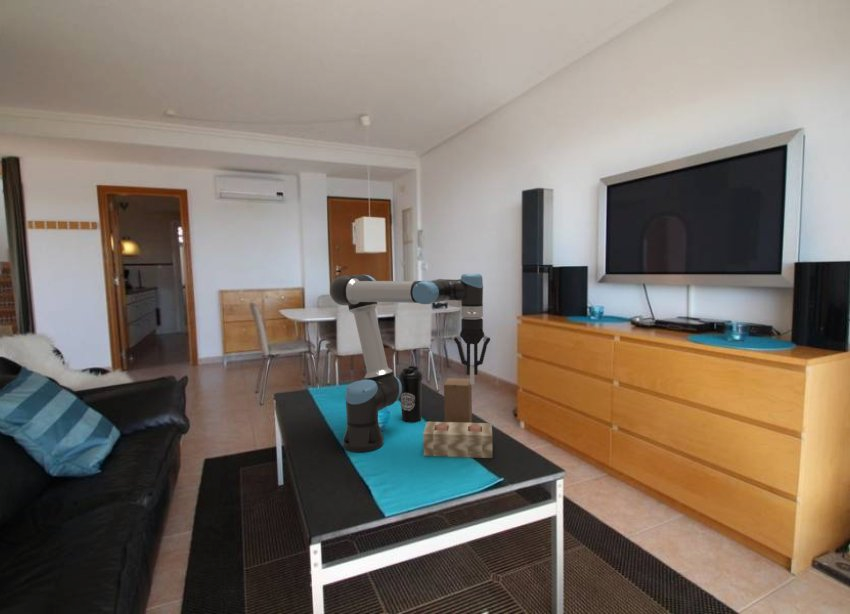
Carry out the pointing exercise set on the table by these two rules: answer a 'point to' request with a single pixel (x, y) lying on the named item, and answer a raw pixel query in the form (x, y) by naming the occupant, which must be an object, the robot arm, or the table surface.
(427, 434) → the socket board
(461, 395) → the wooden block
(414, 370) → the water bottle
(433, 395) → the table surface
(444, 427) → the peg
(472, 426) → the peg
